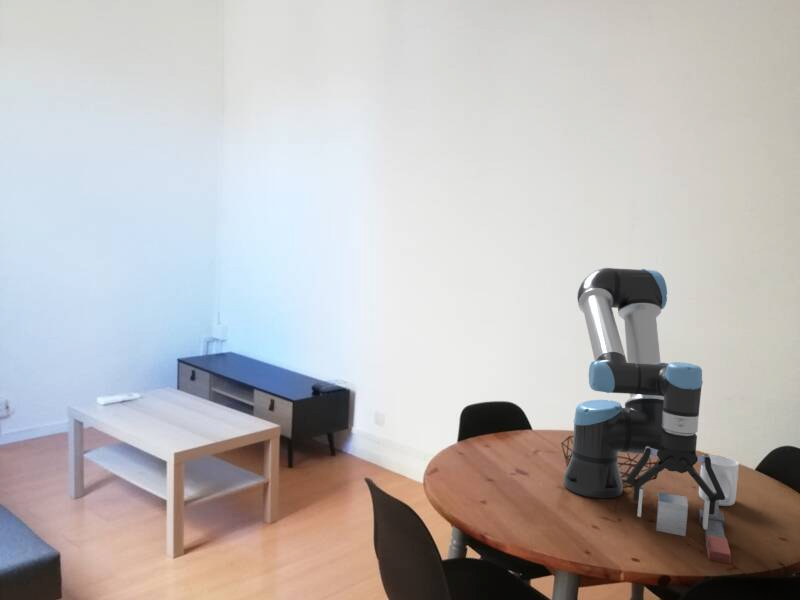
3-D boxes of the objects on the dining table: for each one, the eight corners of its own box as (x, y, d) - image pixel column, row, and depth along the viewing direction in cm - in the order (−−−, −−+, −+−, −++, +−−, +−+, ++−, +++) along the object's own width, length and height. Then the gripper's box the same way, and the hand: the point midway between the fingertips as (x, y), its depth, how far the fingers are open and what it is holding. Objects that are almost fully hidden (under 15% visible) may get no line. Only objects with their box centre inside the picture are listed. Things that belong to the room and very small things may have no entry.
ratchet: (732, 564, 126) (735, 536, 126) (705, 558, 128) (708, 531, 128) (721, 520, 147) (724, 496, 147) (698, 516, 149) (700, 492, 149)
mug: (711, 510, 153) (714, 469, 152) (693, 492, 165) (696, 453, 164) (747, 513, 152) (751, 471, 151) (726, 494, 164) (730, 455, 163)
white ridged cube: (656, 530, 140) (659, 501, 140) (656, 520, 146) (658, 491, 145) (685, 536, 138) (687, 506, 138) (684, 525, 144) (686, 496, 143)
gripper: (620, 426, 141) (613, 515, 143) (744, 444, 132) (735, 539, 133) (621, 419, 148) (614, 504, 150) (739, 435, 139) (730, 525, 140)
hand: (671, 521), depth 141 cm, fingers open, 13 cm apart
